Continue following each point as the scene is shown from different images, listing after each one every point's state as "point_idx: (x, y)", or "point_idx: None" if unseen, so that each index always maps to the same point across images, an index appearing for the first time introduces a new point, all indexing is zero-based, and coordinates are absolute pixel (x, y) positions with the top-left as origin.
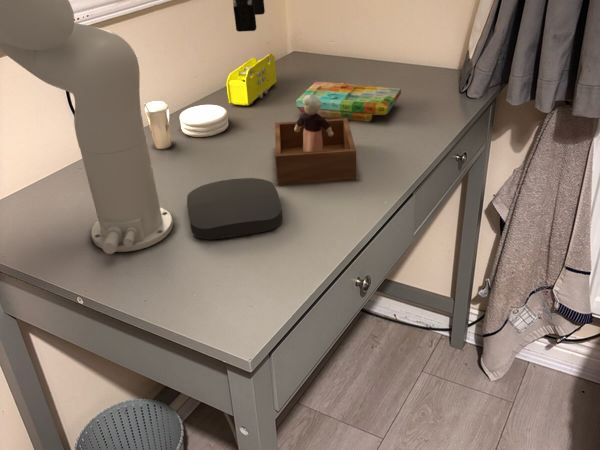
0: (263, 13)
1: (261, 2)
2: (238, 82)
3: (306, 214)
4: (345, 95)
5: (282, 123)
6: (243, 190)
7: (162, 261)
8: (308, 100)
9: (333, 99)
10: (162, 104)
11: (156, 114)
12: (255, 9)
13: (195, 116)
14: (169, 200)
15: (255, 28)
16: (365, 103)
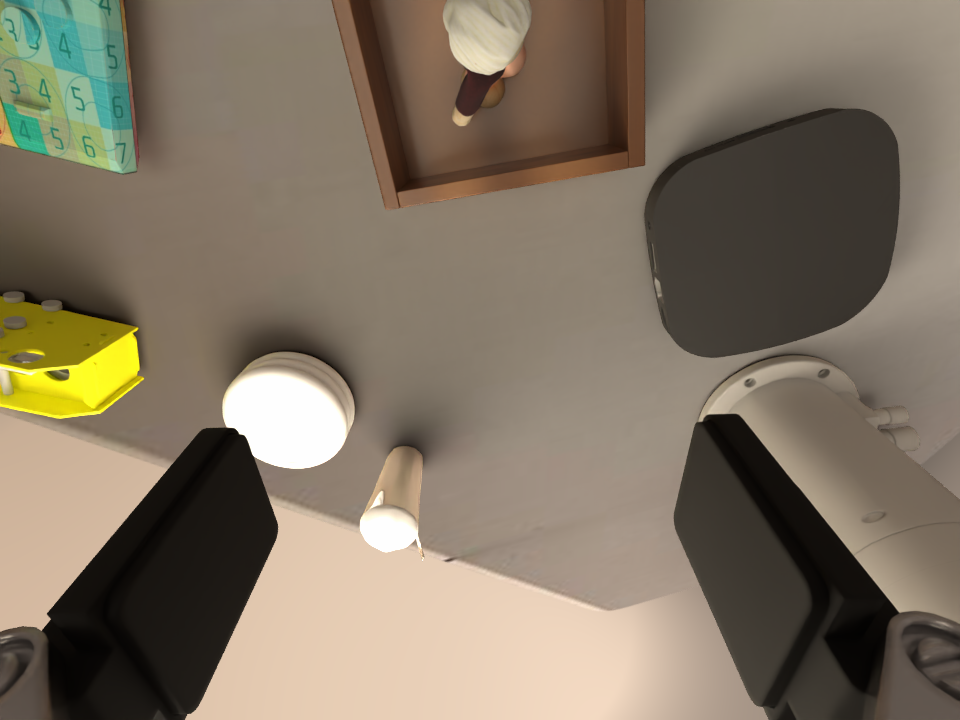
0: (235, 430)
1: (192, 508)
2: (88, 381)
3: (802, 40)
4: None
5: (390, 182)
6: (737, 233)
7: (903, 342)
8: (521, 36)
9: (69, 7)
10: (387, 523)
11: (417, 518)
12: (244, 506)
13: (307, 435)
14: (660, 388)
15: (742, 420)
16: None
